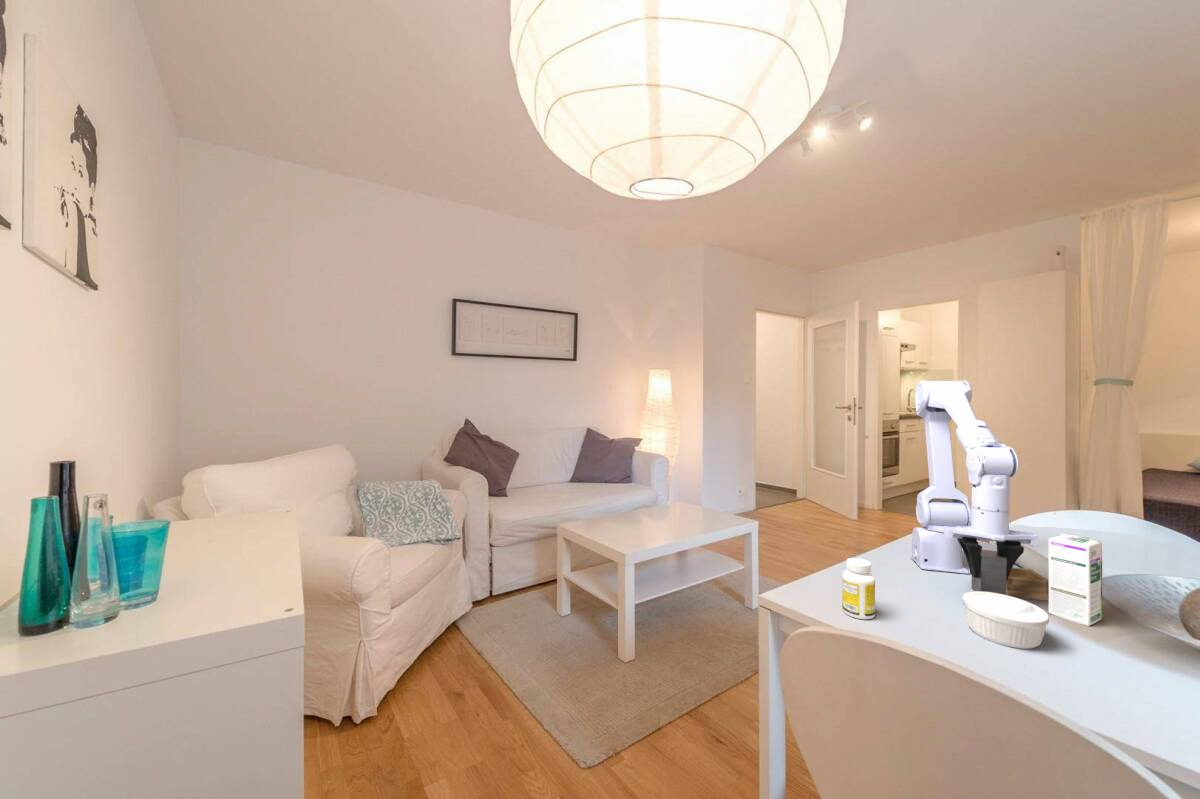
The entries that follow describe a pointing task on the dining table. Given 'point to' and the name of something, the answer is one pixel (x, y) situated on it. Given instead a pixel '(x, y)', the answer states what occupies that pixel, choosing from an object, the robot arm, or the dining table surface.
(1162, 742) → the dining table surface
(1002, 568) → the matte charcoal brick
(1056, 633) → the dining table surface
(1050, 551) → the syrup box
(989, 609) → the ramekin
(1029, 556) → the tube
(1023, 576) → the oak dock
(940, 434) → the robot arm
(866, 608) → the supplement bottle
